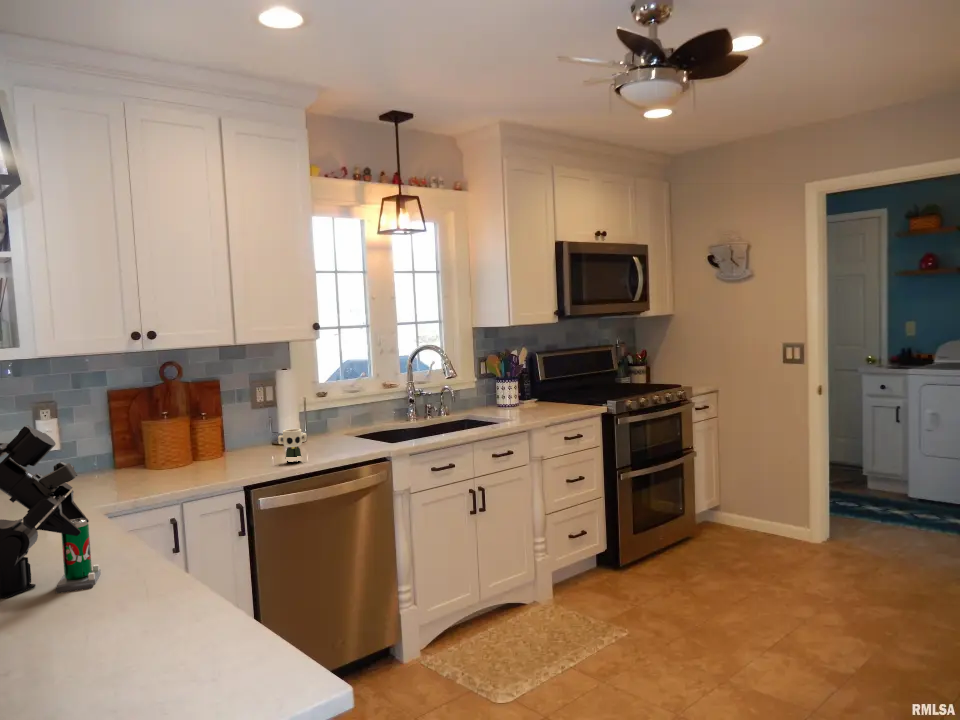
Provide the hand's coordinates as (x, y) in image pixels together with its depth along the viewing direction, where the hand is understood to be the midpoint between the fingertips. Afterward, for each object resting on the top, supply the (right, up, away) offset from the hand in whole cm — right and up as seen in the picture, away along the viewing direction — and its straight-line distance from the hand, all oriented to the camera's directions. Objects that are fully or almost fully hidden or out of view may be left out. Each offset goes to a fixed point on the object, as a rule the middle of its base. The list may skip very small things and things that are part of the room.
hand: (83, 528), depth 149 cm
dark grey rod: (+1, -12, -5) cm, 13 cm away
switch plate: (-1, -11, 0) cm, 11 cm away
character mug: (+11, -5, +128) cm, 128 cm away
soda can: (-1, -10, 0) cm, 11 cm away
